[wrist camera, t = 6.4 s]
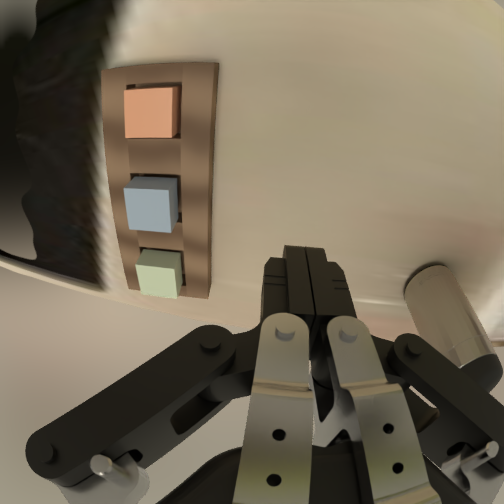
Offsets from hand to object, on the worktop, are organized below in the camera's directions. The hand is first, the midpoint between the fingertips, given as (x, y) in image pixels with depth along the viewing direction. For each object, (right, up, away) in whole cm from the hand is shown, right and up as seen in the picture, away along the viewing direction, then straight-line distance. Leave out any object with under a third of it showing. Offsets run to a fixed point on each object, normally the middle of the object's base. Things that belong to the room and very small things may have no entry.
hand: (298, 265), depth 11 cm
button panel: (-12, +8, +23) cm, 27 cm away
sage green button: (-13, -1, +26) cm, 29 cm away
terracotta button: (-12, +16, +15) cm, 25 cm away
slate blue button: (-13, +7, +20) cm, 25 cm away
